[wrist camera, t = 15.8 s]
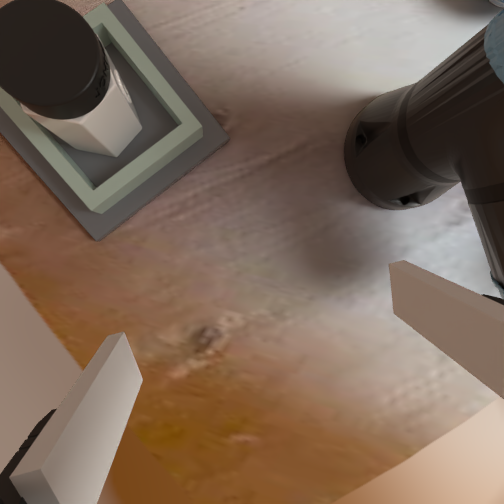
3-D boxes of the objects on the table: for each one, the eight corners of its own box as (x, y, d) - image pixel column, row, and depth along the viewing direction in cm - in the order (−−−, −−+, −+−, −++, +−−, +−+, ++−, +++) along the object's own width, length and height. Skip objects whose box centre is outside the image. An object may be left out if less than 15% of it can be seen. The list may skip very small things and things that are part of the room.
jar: (151, 146, 34) (118, 93, 22) (82, 168, 33) (9, 124, 21) (123, 72, 34) (73, -23, 22) (52, 93, 33) (-41, 4, 21)
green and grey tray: (122, 4, 34) (110, -28, 30) (229, 140, 36) (231, 127, 32) (-22, 103, 33) (-54, 83, 29) (99, 241, 34) (84, 240, 31)
